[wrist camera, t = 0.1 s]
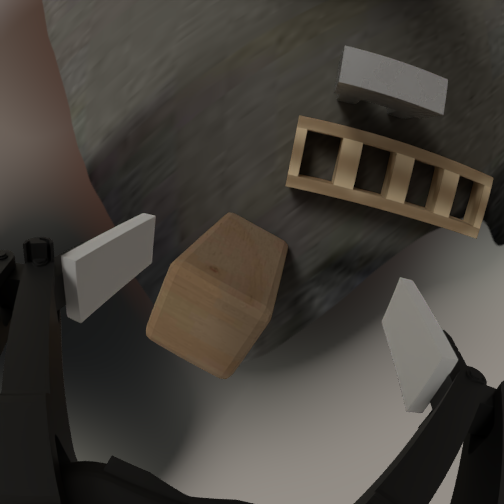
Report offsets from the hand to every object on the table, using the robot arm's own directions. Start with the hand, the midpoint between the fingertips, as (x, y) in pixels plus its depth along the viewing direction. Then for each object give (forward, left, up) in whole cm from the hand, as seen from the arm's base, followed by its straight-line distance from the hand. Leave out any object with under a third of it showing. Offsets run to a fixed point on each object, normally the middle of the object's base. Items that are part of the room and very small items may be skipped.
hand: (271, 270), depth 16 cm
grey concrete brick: (-15, +8, -28) cm, 33 cm away
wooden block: (+11, -5, -28) cm, 31 cm away
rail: (-5, +13, -28) cm, 31 cm away
